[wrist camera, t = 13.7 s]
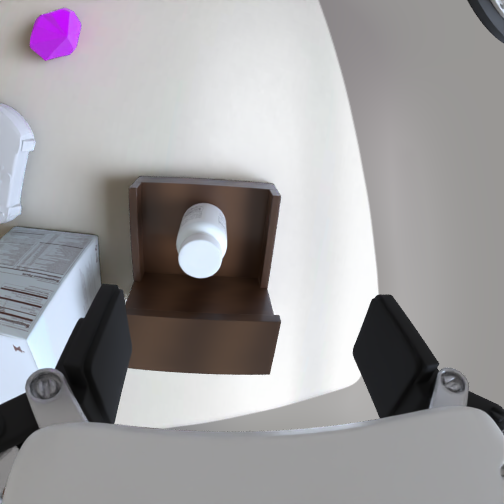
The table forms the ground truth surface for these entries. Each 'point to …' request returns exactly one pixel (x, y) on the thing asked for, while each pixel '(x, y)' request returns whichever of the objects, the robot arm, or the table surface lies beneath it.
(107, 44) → the table surface
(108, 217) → the table surface
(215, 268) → the pill bottle
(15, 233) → the supplement box
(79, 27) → the crystal
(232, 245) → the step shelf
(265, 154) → the table surface
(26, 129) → the game controller
